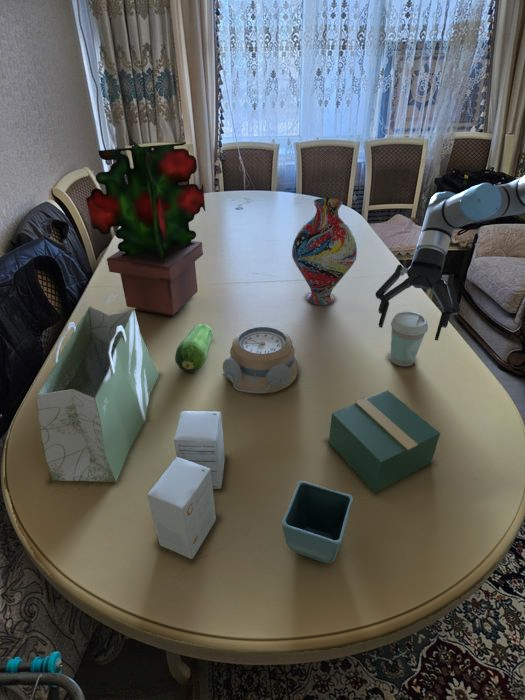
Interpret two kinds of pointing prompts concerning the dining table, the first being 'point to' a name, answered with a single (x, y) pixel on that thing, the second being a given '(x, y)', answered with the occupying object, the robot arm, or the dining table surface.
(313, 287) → the vase
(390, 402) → the green parcel box
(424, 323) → the coffee cup
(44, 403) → the green gift bag
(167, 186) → the potted plant
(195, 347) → the vegetable
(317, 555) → the flower pot
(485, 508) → the dining table surface
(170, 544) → the small box
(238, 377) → the alarm clock
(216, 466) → the white packaging box
